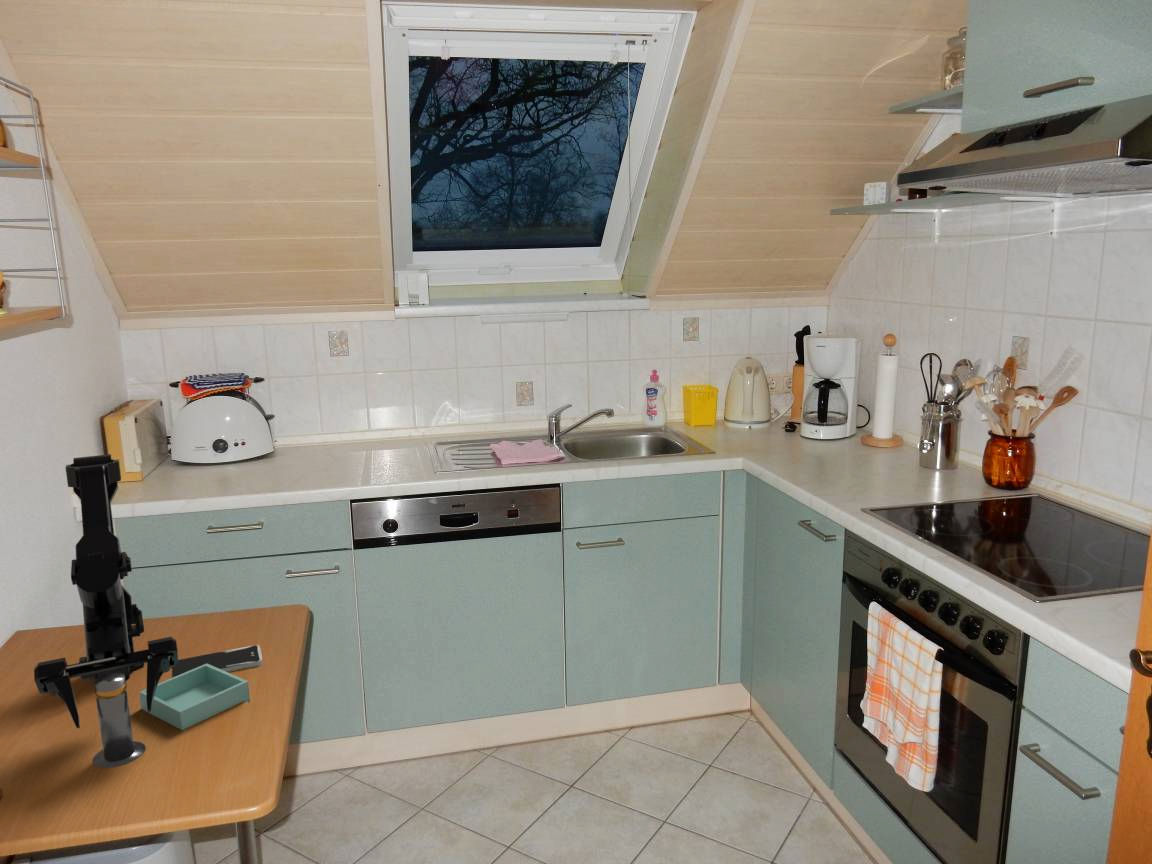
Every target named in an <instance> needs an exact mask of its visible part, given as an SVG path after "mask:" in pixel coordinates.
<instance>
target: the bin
mask: <svg viewBox="0 0 1152 864" xmlns="http://www.w3.org/2000/svg"><path fill="white" fill-rule="evenodd" d="M138 692H139V693H138V694H139V701H140V706H141V707H140V708H141V710H143V711H144V712H147V713H149V714H150V715H152V716H154V717H156V718H158V719H160V720H161V721H164V722H166V723H168V724H170V725H171V726H173V727H175V728H177V729H180V731H184V730H186V729H188V728H190V727H192V726H195V725H197V724H199V723H200V722H203V721H205V720H206V719H208V718H211V717H213V716H215V715H217V714H220V713H222V712H224V711H226V710H228V709H230V708H233V707H234V706H237V705H238V704H240V703H243V702H246V703H250V702H251V697H250V696H251V695H250V694H251V693H250V687H249V680H247V679H243V678H241V677H240V676H237V675H234V674H232V673H230V672H225V671H223V670H221V669H218V668H216V667H214V666H212V665H209V664H204V665H202V666H200V667H197V668H195V669H192V670H190V671H188V672H185V673H183V674H180V675H178V676H176V677H173V676H172V677H171V678H169V679H167V680H164V681H162V682H158V685H157V688H156V692H155V696H154V700H153V705H152V709H151V712H148V710H147V701H146V692H147V688H145V689H143V690H140V691H138Z"/></svg>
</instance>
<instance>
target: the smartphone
mask: <svg viewBox="0 0 1152 864" xmlns="http://www.w3.org/2000/svg"><path fill="white" fill-rule="evenodd" d="M204 664H209V665H212V666H214V667H216V668H218V669H221V670H223V671H225V672H228V673H230V672H233V671H239V669H240V670H244V668H245V669H249V668H254V667H259V666H260V667H261V666H262V665H263V664H264V661H263V655H262V650H261V646H260V645H259V644H254V645H249V646H244V647H243V646H242V647H238V648H232V649H227V650H221V651H217V652H211V653H207V654H202V655H197V656H192V657H185V658H182V659H181V658H179V659H178V665H176V666H173V667H172V678H173V677H176V676H178V675H180V674H183V673H185V672H188V671H190V670H192V669H195V668H197V667H200V666H202V665H204Z"/></svg>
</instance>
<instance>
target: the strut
mask: <svg viewBox="0 0 1152 864" xmlns="http://www.w3.org/2000/svg"><path fill="white" fill-rule="evenodd" d="M93 687H94V688H93V691H94V692H93V693H94V697H95V701H96V707H97V709H96V710H97V715H98V721H99V722H98V723H99V724H98V725H99V731H100V736H101V737H100V738H101V744H102V745H101V746H102V750H103V753H104V759H105V760H106V761H109V762H115V761H120V760H124V759H126V758H128V757H130V756H131V755H132V754H133V753H134V751H135V750H134V742H133V741H134V735H133V729H132V728H133V727H132V722H131V714H130V713H131V712H130V706H129V697H128V684H127V681H125V675H124V674H122V673H111V674H106V675H103V676H101V677H99V678H97V679H96V680H95V679H94V681H93Z"/></svg>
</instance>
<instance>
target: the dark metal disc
mask: <svg viewBox="0 0 1152 864" xmlns="http://www.w3.org/2000/svg"><path fill="white" fill-rule="evenodd" d="M133 742H134V750H135V751H134V753H133V754H132V755H131V756H130V757H128V758H126V759H124V760H120V761H115V762H109V761H106V760H105V759H104V753H103V749H101V750H100V751H98V752H97V753H96V754H95V755H94V757H93V758H92V763H93V765H94V766H95V767H97V768H102V769H110V768H111V769H113V768H117V767H121V766H124V765H127V764H130V763H132V762H135V761H136V760H137V759H139V758H141V757H142V756H143V754H144V753H145V752H146V749H147V748H146V745H145V744H144V743H143V742H141V741H134V740H133Z"/></svg>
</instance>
